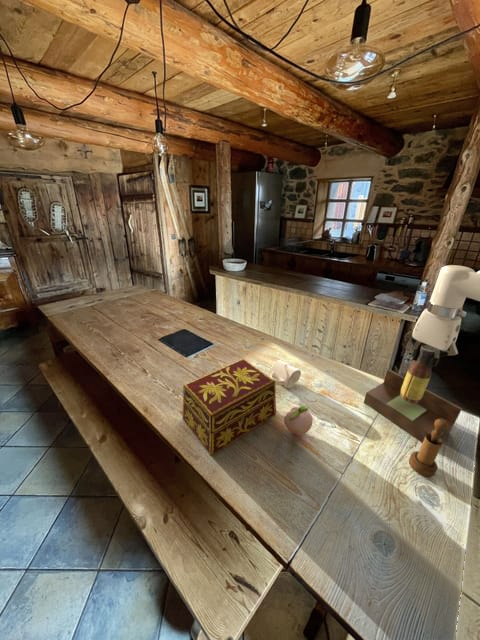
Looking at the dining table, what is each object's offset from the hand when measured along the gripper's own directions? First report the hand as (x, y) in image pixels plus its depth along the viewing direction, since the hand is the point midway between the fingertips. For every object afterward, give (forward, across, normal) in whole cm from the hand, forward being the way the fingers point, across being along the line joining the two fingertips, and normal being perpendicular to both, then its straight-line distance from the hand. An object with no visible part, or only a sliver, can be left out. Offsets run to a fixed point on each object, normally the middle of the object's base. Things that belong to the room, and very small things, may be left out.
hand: (423, 362), depth 84 cm
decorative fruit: (+24, +15, +36) cm, 46 cm away
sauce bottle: (+15, 0, 0) cm, 15 cm away
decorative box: (+24, +32, +52) cm, 66 cm away
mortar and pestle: (+24, -13, +14) cm, 31 cm away
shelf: (+24, 0, -1) cm, 24 cm away
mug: (+24, +37, +24) cm, 50 cm away
